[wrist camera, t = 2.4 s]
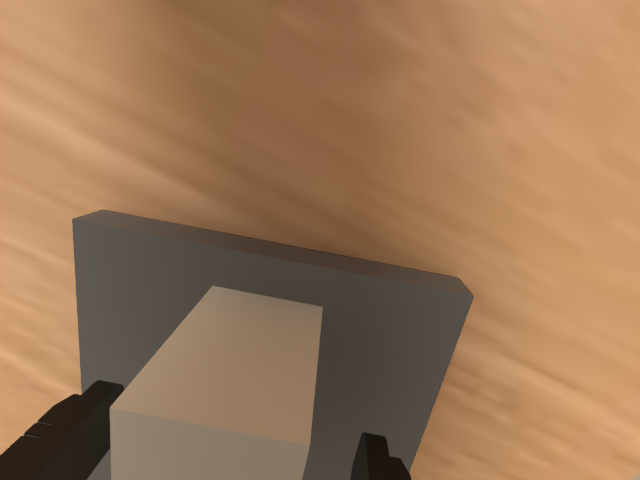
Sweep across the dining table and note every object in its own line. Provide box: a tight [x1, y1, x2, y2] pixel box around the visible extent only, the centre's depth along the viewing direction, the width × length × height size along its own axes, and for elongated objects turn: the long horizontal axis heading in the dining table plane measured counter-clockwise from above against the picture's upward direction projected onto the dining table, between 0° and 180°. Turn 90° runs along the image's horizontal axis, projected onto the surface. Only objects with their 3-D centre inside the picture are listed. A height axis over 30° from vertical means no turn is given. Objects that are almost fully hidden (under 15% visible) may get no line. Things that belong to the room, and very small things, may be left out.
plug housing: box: [110, 286, 323, 480], centre depth 10 cm, size 7×4×6 cm, turn 170°
